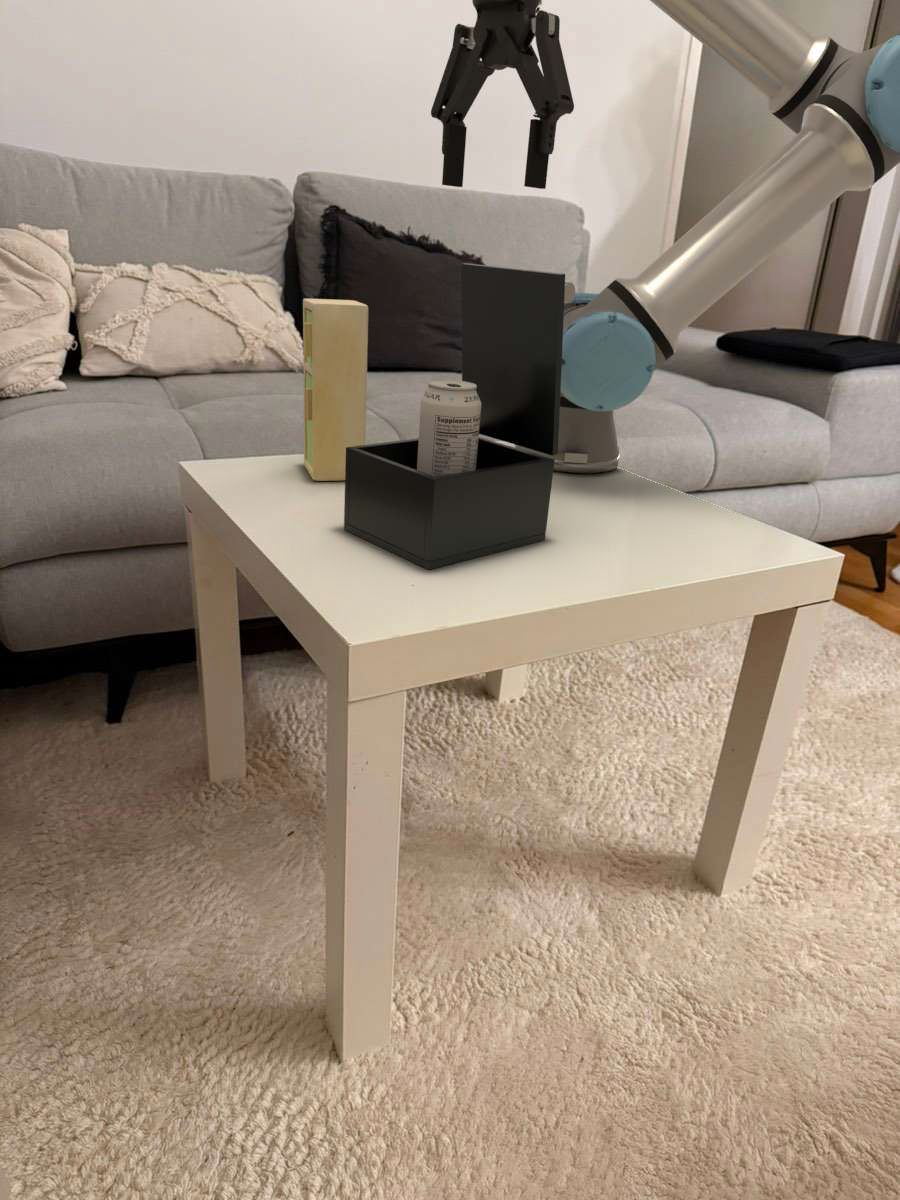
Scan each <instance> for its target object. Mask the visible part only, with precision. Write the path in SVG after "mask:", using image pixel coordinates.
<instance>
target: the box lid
mask: <svg viewBox="0 0 900 1200" xmlns="http://www.w3.org/2000/svg"><path fill="white" fill-rule="evenodd" d="M575 293H576V286H575V284H574V283H573V282H570V281H566V273H561V272H552V271H542V270H535V269H534V270H533V269H531V270H530V269H523V268H516V267H506V266H505V267H504V266H495V265H486V264H477V263H467V262H464V263H460V310H461V312H460V318H461V319H460V322H461V323H460V326H461V327H460V329H461V330H460V332H461V381H465V382H470V383H474V384H476V385H477V388H476V392H477V394H478V396H479V399H480V401H481V415H480V427H479V435H481V436H485V437H488V438H492V439H495V440H498V441H502V442H505V443H508V444H512V445H514V446H515V445H518V446H522V447H525V448H528V449H532V450H535V451H539V452H542V453H545V454H549V455H552V456H554V455H557V454H558V440H559V416H560V392H561V368H562V344H563V320H564V303H570V302H572V300H573V299H574V296H575Z"/></svg>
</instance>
